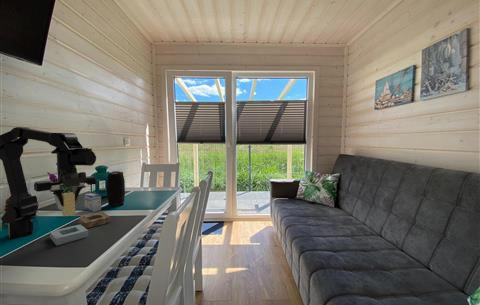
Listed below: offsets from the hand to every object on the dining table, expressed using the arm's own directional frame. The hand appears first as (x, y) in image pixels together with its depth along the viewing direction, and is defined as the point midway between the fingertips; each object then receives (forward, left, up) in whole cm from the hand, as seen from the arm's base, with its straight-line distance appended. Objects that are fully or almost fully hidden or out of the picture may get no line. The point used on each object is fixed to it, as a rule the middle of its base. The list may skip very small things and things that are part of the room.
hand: (68, 204), depth 88 cm
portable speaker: (+30, +32, -13) cm, 46 cm away
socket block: (0, 0, -13) cm, 13 cm away
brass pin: (0, 0, -4) cm, 4 cm away
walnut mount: (+12, +10, -13) cm, 20 cm away
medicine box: (+18, +32, -13) cm, 39 cm away
